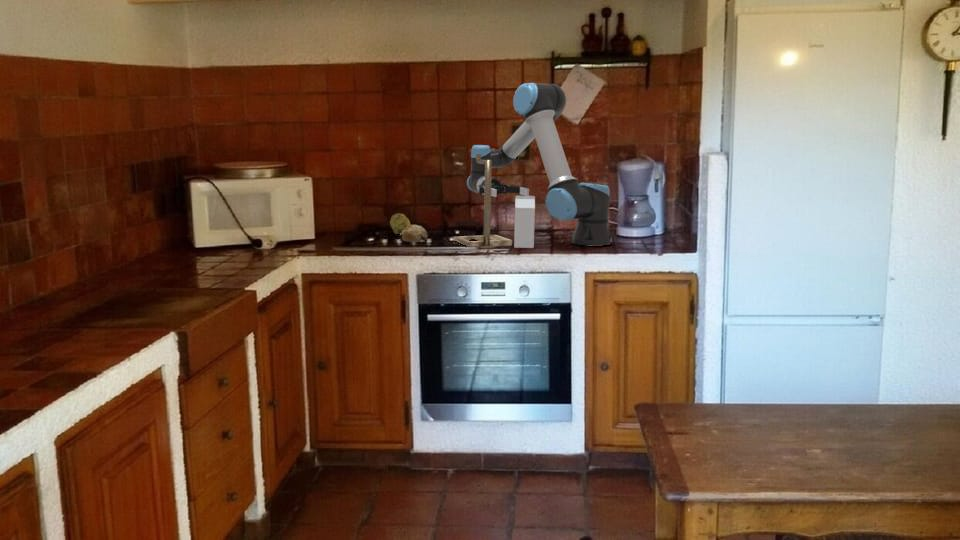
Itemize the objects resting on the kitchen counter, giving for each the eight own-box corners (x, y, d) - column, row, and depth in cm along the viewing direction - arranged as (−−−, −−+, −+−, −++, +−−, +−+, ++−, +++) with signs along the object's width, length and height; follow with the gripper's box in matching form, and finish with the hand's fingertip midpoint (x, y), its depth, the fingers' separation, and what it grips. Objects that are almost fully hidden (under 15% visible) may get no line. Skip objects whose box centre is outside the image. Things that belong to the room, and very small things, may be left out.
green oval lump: (390, 236, 360) (390, 216, 359) (389, 232, 373) (389, 212, 371) (412, 236, 361) (412, 216, 360) (410, 231, 374) (410, 212, 372)
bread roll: (412, 252, 348) (420, 234, 345) (393, 238, 352) (400, 220, 349) (427, 249, 356) (435, 231, 353) (408, 235, 360) (415, 217, 357)
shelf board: (496, 239, 358) (496, 234, 357) (511, 245, 345) (512, 240, 345) (453, 241, 351) (453, 236, 350) (467, 247, 338) (467, 242, 338)
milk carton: (533, 248, 339) (535, 197, 336) (514, 248, 339) (515, 196, 336) (533, 245, 346) (534, 195, 343) (514, 245, 346) (515, 194, 343)
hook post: (482, 243, 349) (484, 153, 343) (494, 247, 339) (496, 155, 333) (470, 243, 347) (471, 153, 341) (481, 248, 337) (483, 155, 331)
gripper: (517, 195, 374) (541, 202, 355) (460, 196, 364) (481, 203, 345) (517, 176, 372) (541, 182, 353) (460, 177, 362) (482, 183, 343)
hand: (512, 192), depth 349 cm, fingers open, 13 cm apart
